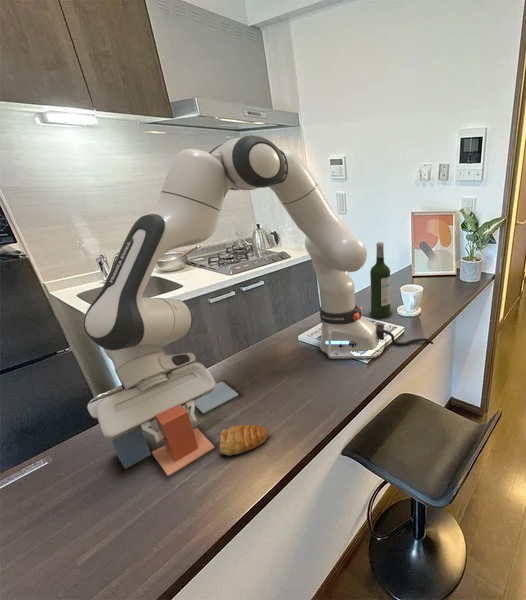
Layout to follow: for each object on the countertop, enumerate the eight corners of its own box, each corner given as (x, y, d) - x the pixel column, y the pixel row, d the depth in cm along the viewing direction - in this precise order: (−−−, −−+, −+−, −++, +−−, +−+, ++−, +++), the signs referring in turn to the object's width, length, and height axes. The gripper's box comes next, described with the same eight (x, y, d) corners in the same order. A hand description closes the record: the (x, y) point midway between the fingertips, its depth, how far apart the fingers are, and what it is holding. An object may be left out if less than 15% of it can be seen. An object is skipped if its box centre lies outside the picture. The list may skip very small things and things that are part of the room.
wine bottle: (376, 309, 140) (375, 239, 128) (393, 312, 137) (393, 241, 125) (367, 316, 133) (365, 243, 122) (384, 319, 130) (384, 246, 118)
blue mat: (187, 398, 85) (187, 397, 85) (222, 382, 92) (222, 381, 92) (203, 414, 80) (202, 412, 80) (238, 395, 87) (238, 394, 87)
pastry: (267, 427, 77) (265, 414, 75) (267, 449, 71) (264, 436, 69) (223, 437, 74) (220, 424, 72) (219, 460, 68) (215, 447, 66)
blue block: (118, 457, 68) (102, 420, 64) (143, 444, 71) (129, 408, 68) (125, 469, 66) (108, 431, 62) (151, 454, 69) (137, 418, 65)
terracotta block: (166, 451, 69) (153, 414, 66) (189, 438, 73) (178, 402, 69) (175, 462, 67) (162, 424, 63) (198, 448, 70) (187, 411, 66)
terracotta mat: (151, 453, 69) (151, 452, 69) (197, 428, 76) (196, 427, 76) (168, 476, 64) (167, 475, 64) (215, 448, 71) (214, 446, 71)
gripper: (81, 395, 59) (114, 462, 58) (200, 350, 74) (229, 402, 73) (84, 404, 64) (115, 467, 62) (196, 359, 79) (223, 409, 77)
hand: (177, 431), depth 67 cm, fingers closed on terracotta block, 4 cm apart
